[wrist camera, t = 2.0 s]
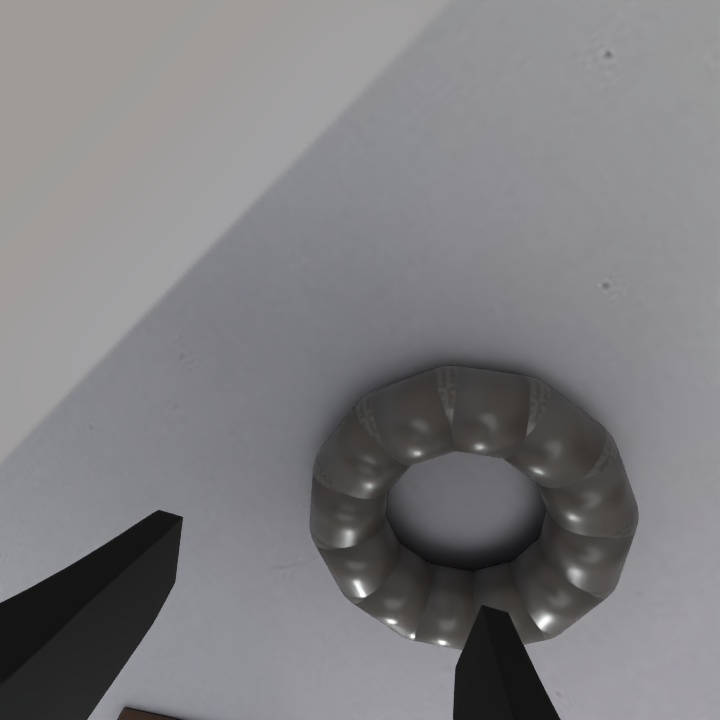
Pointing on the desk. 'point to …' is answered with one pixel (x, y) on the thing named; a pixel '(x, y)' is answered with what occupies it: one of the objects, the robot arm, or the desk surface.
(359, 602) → the donut
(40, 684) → the robot arm
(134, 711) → the post
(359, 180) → the desk surface
